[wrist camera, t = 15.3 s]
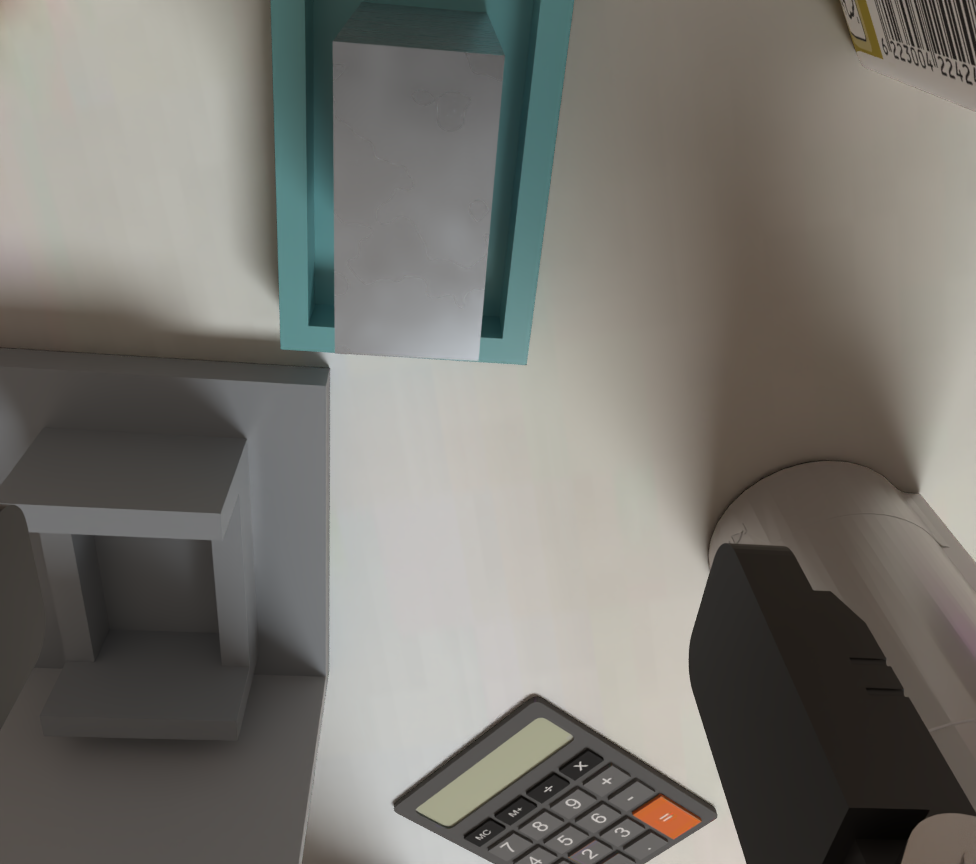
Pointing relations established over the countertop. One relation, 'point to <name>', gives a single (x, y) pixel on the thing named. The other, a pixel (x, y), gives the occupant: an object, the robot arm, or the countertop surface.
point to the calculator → (553, 796)
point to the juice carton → (918, 43)
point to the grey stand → (167, 607)
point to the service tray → (517, 182)
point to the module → (413, 179)
